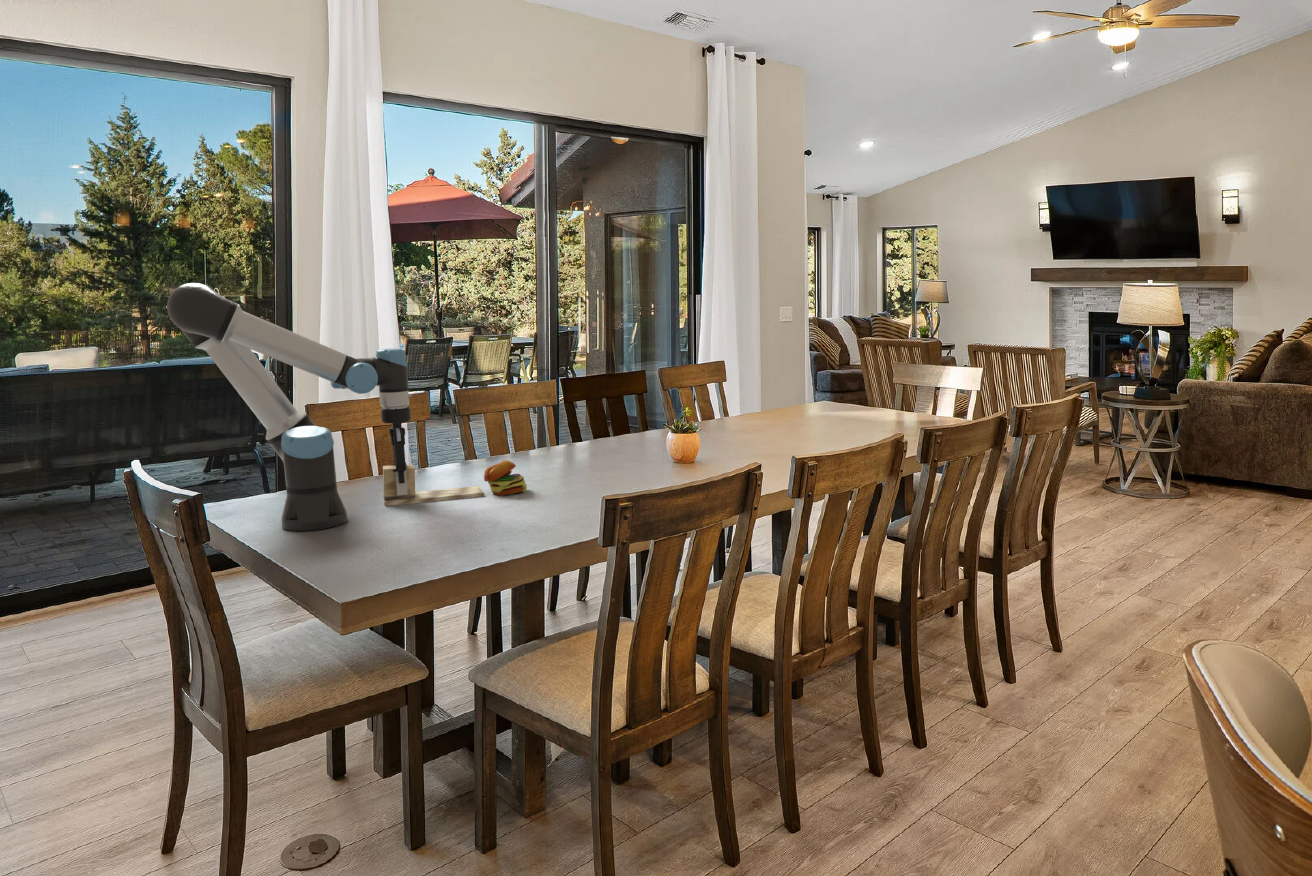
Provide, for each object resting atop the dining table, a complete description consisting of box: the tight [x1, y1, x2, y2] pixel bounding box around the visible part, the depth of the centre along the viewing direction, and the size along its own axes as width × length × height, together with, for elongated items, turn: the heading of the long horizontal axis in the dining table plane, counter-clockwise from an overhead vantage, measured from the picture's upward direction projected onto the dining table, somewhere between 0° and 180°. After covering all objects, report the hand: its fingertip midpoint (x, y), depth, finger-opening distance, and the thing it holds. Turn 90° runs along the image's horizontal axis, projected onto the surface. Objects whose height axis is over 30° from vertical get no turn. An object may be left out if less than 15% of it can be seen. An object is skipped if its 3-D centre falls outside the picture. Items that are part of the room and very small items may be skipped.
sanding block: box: [382, 464, 416, 499], centre depth 248 cm, size 8×5×8 cm, turn 109°
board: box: [382, 485, 485, 507], centre depth 251 cm, size 26×9×1 cm, turn 108°
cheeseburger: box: [483, 459, 528, 496], centre depth 254 cm, size 10×11×10 cm
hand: (401, 492), depth 248 cm, fingers closed on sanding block, 5 cm apart
